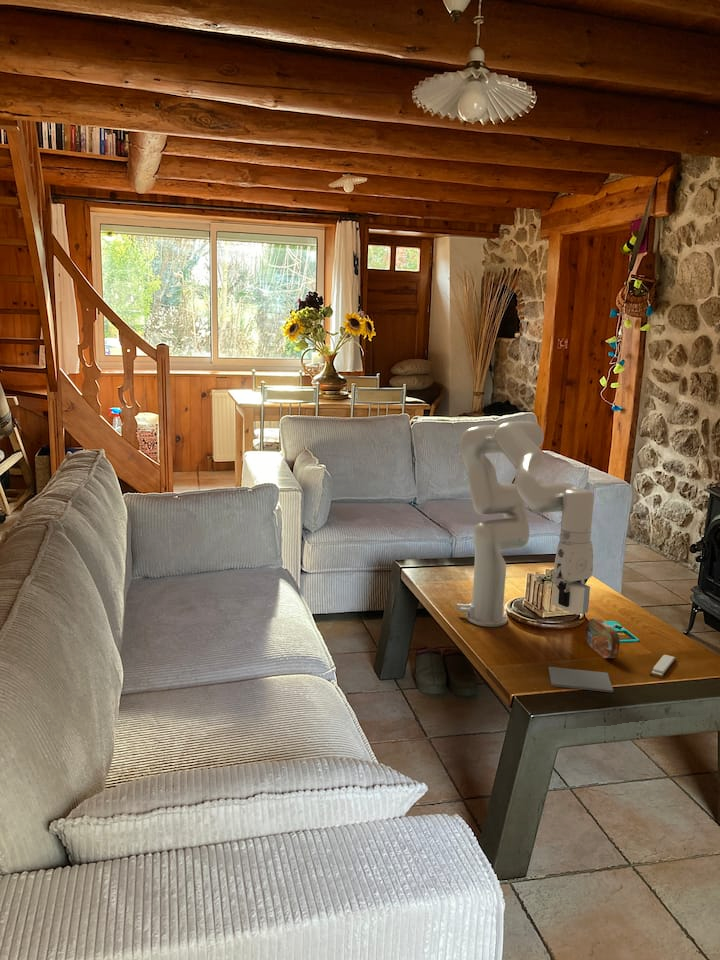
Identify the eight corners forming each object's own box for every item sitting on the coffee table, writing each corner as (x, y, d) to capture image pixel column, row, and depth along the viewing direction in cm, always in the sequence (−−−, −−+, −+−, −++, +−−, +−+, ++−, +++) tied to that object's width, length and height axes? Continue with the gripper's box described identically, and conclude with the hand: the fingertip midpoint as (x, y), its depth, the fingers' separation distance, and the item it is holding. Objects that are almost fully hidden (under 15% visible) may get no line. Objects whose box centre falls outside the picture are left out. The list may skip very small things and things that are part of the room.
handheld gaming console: (615, 619, 235) (640, 639, 220) (614, 623, 235) (640, 643, 220) (589, 620, 233) (613, 640, 219) (589, 624, 233) (613, 644, 219)
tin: (583, 641, 219) (586, 613, 218) (593, 640, 220) (596, 613, 218) (609, 663, 205) (612, 634, 203) (619, 663, 205) (622, 634, 204)
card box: (577, 614, 194) (579, 588, 193) (551, 604, 201) (553, 579, 200) (587, 612, 196) (590, 586, 195) (562, 601, 204) (564, 576, 202)
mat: (551, 685, 191) (551, 683, 191) (548, 668, 200) (548, 666, 200) (613, 692, 188) (613, 690, 188) (607, 674, 198) (607, 672, 198)
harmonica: (663, 658, 210) (664, 651, 210) (675, 661, 209) (676, 654, 208) (649, 677, 199) (650, 669, 198) (661, 680, 197) (662, 673, 197)
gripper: (563, 543, 188) (557, 613, 191) (608, 536, 196) (602, 603, 200) (541, 536, 194) (536, 604, 197) (586, 529, 203) (580, 594, 206)
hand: (569, 603), depth 198 cm, fingers closed on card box, 3 cm apart
